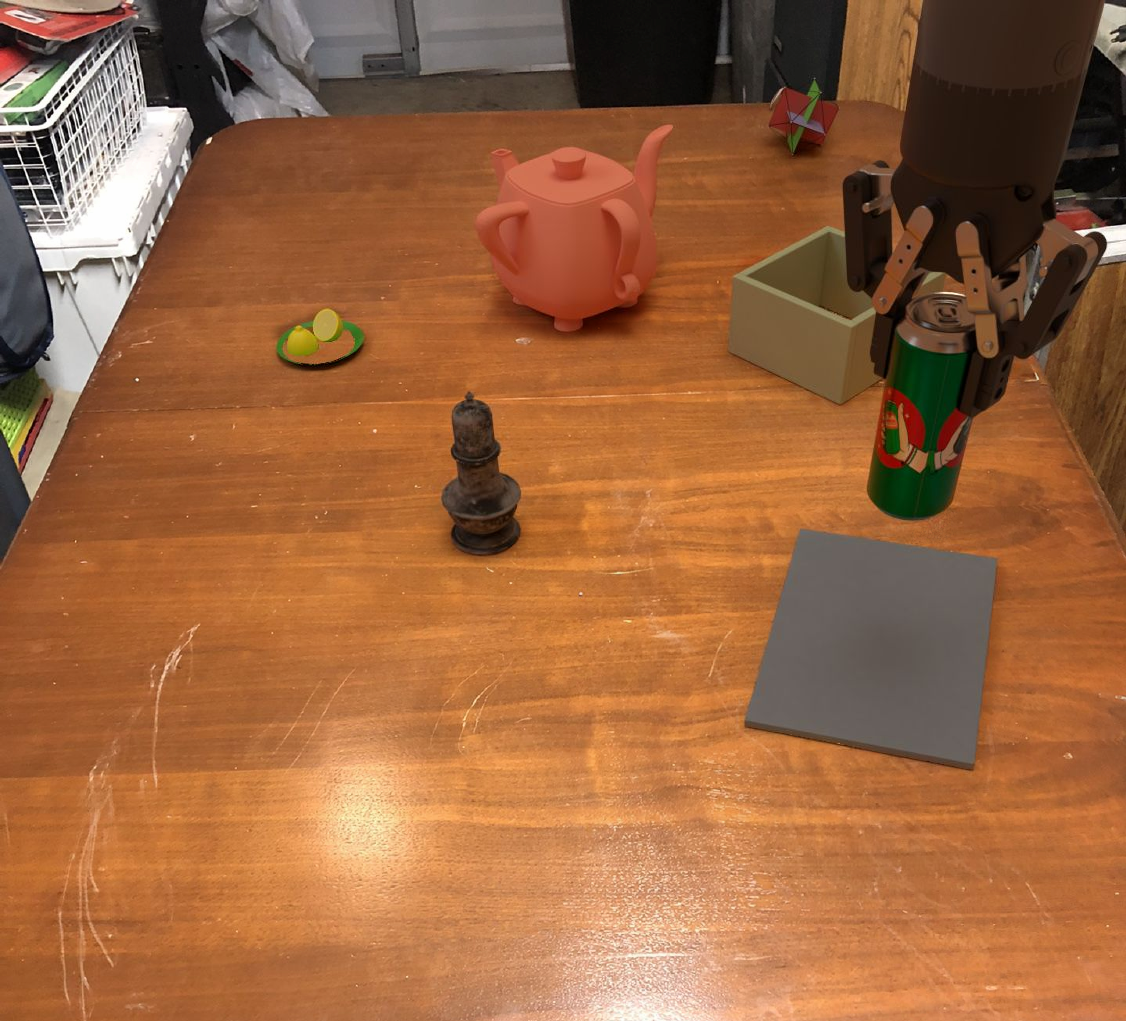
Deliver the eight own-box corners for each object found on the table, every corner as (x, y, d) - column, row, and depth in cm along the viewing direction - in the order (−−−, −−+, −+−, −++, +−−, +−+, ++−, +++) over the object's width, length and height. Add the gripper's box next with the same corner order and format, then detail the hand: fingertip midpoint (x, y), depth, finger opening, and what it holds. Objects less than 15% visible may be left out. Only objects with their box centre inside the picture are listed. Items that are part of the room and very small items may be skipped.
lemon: (318, 317, 112) (312, 289, 110) (382, 339, 108) (377, 310, 106) (259, 356, 107) (252, 327, 105) (324, 379, 104) (318, 350, 102)
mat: (799, 534, 87) (800, 528, 86) (995, 564, 83) (997, 558, 83) (743, 726, 74) (744, 720, 74) (972, 770, 71) (974, 764, 70)
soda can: (946, 475, 72) (990, 287, 63) (956, 527, 68) (1004, 336, 59) (862, 473, 72) (894, 287, 63) (868, 525, 69) (902, 336, 60)
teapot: (500, 258, 118) (488, 115, 108) (669, 257, 116) (673, 112, 106) (482, 342, 107) (466, 192, 97) (667, 342, 106) (671, 190, 96)
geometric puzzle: (844, 112, 133) (808, 52, 128) (855, 136, 128) (818, 74, 124) (790, 155, 136) (752, 98, 132) (799, 179, 132) (760, 121, 127)
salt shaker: (482, 500, 91) (466, 359, 82) (540, 527, 89) (529, 385, 80) (430, 538, 88) (407, 397, 79) (488, 568, 86) (471, 425, 77)
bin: (818, 299, 109) (827, 225, 104) (931, 347, 103) (947, 270, 98) (727, 351, 104) (732, 275, 99) (840, 405, 98) (851, 327, 92)
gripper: (1198, 62, 50) (1085, 412, 63) (919, -5, 57) (868, 320, 70) (1103, 116, 47) (1004, 472, 59) (820, 38, 54) (786, 370, 67)
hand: (931, 389), depth 65 cm, fingers closed on soda can, 5 cm apart
